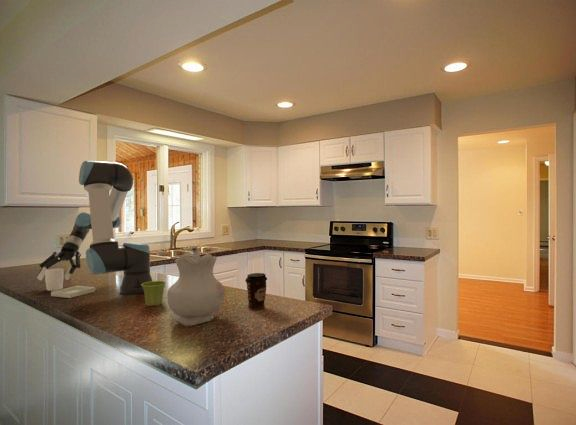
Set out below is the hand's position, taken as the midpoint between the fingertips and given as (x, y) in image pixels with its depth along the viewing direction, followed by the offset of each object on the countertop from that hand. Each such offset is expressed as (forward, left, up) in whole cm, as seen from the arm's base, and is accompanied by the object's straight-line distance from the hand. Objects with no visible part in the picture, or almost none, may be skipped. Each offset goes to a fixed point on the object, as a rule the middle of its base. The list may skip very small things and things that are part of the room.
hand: (52, 279), depth 166 cm
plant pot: (-70, +6, -6) cm, 70 cm away
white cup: (0, -1, -6) cm, 6 cm away
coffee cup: (-113, -2, -6) cm, 113 cm away
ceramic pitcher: (-98, +16, -6) cm, 99 cm away
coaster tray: (-19, +3, -5) cm, 20 cm away
